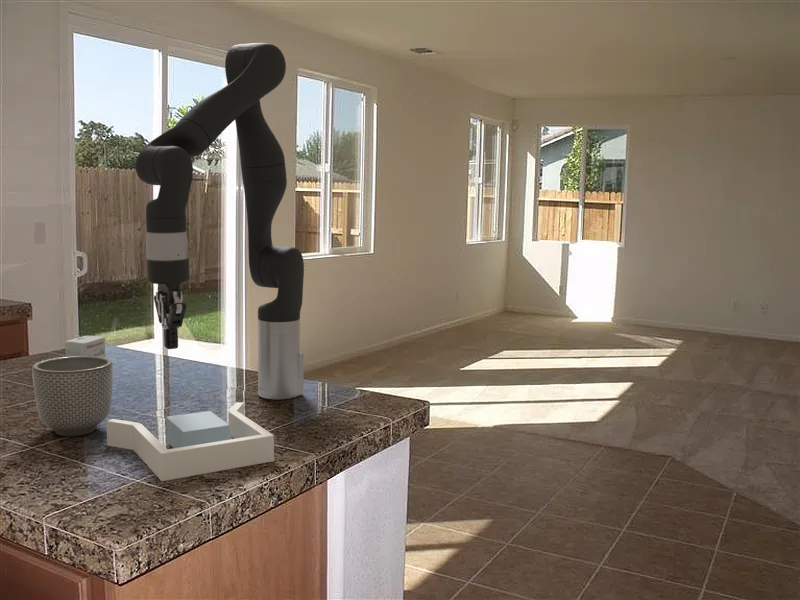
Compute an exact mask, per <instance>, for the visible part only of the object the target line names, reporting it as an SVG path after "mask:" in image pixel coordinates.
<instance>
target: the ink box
mask: <svg viewBox="0 0 800 600" xmlns="http://www.w3.org/2000/svg"><path fill="white" fill-rule="evenodd" d="M64 344H65V345H64V346H65V357H69V356H98V357H104V358H107V357H106V355H107V354H106V337H105V336H96V335H83V336H80V337H76V338H72V339H68V340H66V341H65V343H64Z"/></svg>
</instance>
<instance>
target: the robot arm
mask: <svg viewBox="0 0 800 600" xmlns="http://www.w3.org/2000/svg"><path fill="white" fill-rule="evenodd" d="M224 61H225V65H224V71H225V78H226V83H227V85H225V86H224V87H222V88H221V89H218V90H217V91H215V92H213V93H212V94H210V95H208V96H206V97H205V98H203V99H202V100H200V101H199V102H197V103H196V104H194V105H193V107H191V108H190V109H189V110H188V111H187V112H186V113H185V114H184V115H183V116H182V117H181V118H180V120H178V122H177V123H175V125H174V126H173V127H171V128H170V129H167V130H166V131H165V132H163V133H162V134H159V136H156V138H153V140H151V141H150V142H148V143H147V144H146V145H145V146H144V147H143V148H142V149H141V150H140V152H139V153H138V155H137V157H136V160H135V166H134V167H135V172H136V175H137V177H138V178H139V179H140V180H141V181H142V182H144V183H145V184H147V185H151V186H159V191H158V195H157V198H154V199H151V200H150V201H148V202H147V204H146V206H145V207H146V208H145V209H146V210H145V220H146V223H145V224H146V228H145V229H146V241H145V252H146V253H145V254H146V255H145V257H146V276H147V278H146V279H147V280H146V281H147V282H148V283H150V284H155V285H157V291H156V292H155V295H153V301H154V306H155V309H156V314H157V319H158V322H159V324H161V327H162V329H163V346H164V347H165V348H166V349H167V350H174V349H175V350H176V349H178V347H179V334H178V330H179V329H180V328H182V326H183V322H184V319H185V314H186V311H187V310H186V309H187V303H186V302H183V300H184V297H183V296H184V295H183V292H182V291H181V286H180V285H181V284H182V283H186V282H189V280H190V256H189V255H190V254H189V253H190V252H189V240H188V235H187V234H188V233H187V215H186V209H187V205H188V202H189V198H190V197H189V196H190V192H191V188H192V182H193V177H194V167H193V166H194V165H193V162H192V158H194V157H199V156H200V155H202V154H203V153H204V152H206V150H207V149H209V147H210V146H211V145H212V144H213V143H214V142H215V140H217V138H219V137H220V135H221V134H222V133H223V132H224V131H225V130H226V129H227V128H228V127H229V126H230V125H231V124H232V123H233V122H235V127H236V134H237V141H238V142H237V143H238V148H239V150H238V151H239V161H240V168H241V169H240V170H241V179H242V185H243V191H244V199H245V208H246V217H247V218H246V220H247V239H248V241H247V242H248V246H247V247H248V250H247V251H248V269H249V274H250V277H251V279H252V281H253V283H254V284H255V285H256V286H258V287H261V288H268V289H270V288H271V289H277V294H276V295H277V296H276V298H274V299H273V300H272V301H269V302H267V303H263V304H261V305H260V306H258V308H257V377H258V378H257V390H258V391H257V395H258V396H259V397H261V398H263V399H267V400H287V399H293V398H296V397H298V396H303V395H304V362H305V361H304V352H301V310H302V305H303V297H304V294H303V293H304V276H305V265H304V257H303V255H302V252H301V251H300V249H299V248H297V247H294V246H286V245H285V246H283V245H281V246H280V245H273V241H272V224H273V220H274V217H275V215H276V212H277V210H278V208H279V205H280V204H281V201H282V200H283V197H284V196H285V192H286V189H287V184H288V179H287V169H286V160H285V155H284V150H283V148H282V147H281V144H280V143H279V141H278V139H277V137H276V136H275V134H274V133H273V131H272V129H271V128H270V126H269V125H268V123H267V121H266V118H265V117H264V114H263V110H262V107H261V105H262V104H261V99H262V98H264V97H266V95H268V94H269V93H271V92H272V91H273V90H275V89H276V88H277V87H279V85H281V84H282V82H283V80H284V78H285V75H286V70H287V65H286V59H285V56H284V53H283V52H282V50H281V49H280V48H279V47H277V46H276V45H275V44H273V43H267V42H255V43H253V42H251V43H240V44H235V45H233V46H231V47H230V48H229V50H228V51H227V53H226V55H225V60H224Z"/></svg>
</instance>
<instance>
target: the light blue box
mask: <svg viewBox="0 0 800 600" xmlns="http://www.w3.org/2000/svg"><path fill="white" fill-rule="evenodd" d="M165 425H166V427H165V428H166V431H165V432H166V442H167V443H168V449H174V448H180V447H186V446H192V445H199V444H205V443H211V442H218V441H224V440H230V439H231V436H230V425H229V423H227V422H226V421H225V420H223V419H222V418H221V417H219V416H218V415H217V414H216V413H213V411H211V410H206V411H200V412H194V413H193V412H192V413H184V414H177V415H169V416H166V417H165Z"/></svg>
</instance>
